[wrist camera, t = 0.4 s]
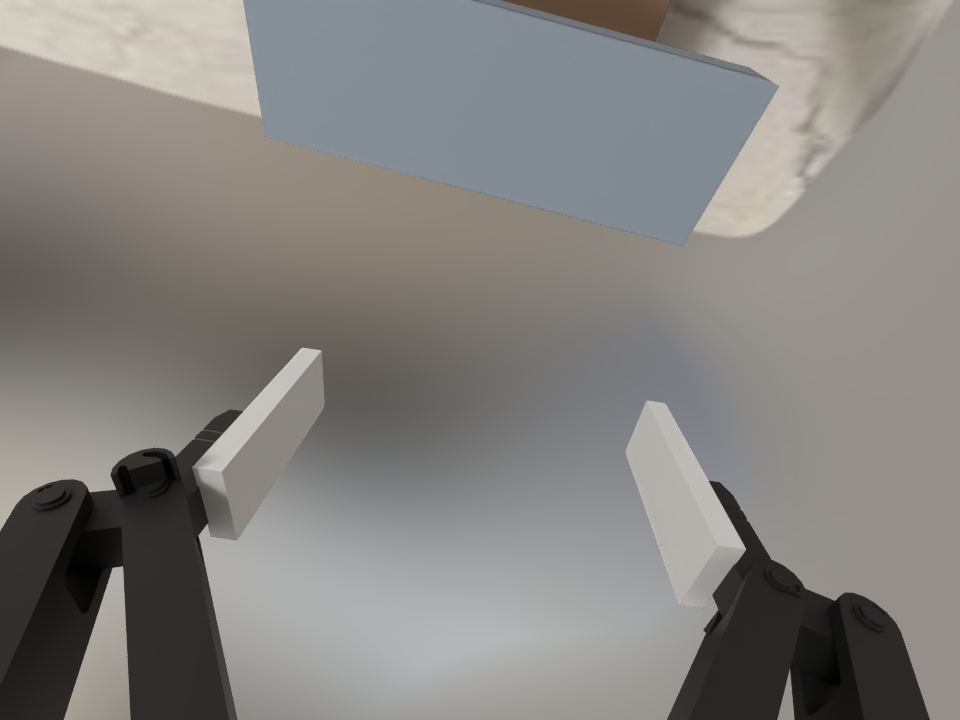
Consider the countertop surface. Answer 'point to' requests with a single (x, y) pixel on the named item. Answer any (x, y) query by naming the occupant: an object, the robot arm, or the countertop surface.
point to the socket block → (608, 13)
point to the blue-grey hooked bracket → (508, 104)
